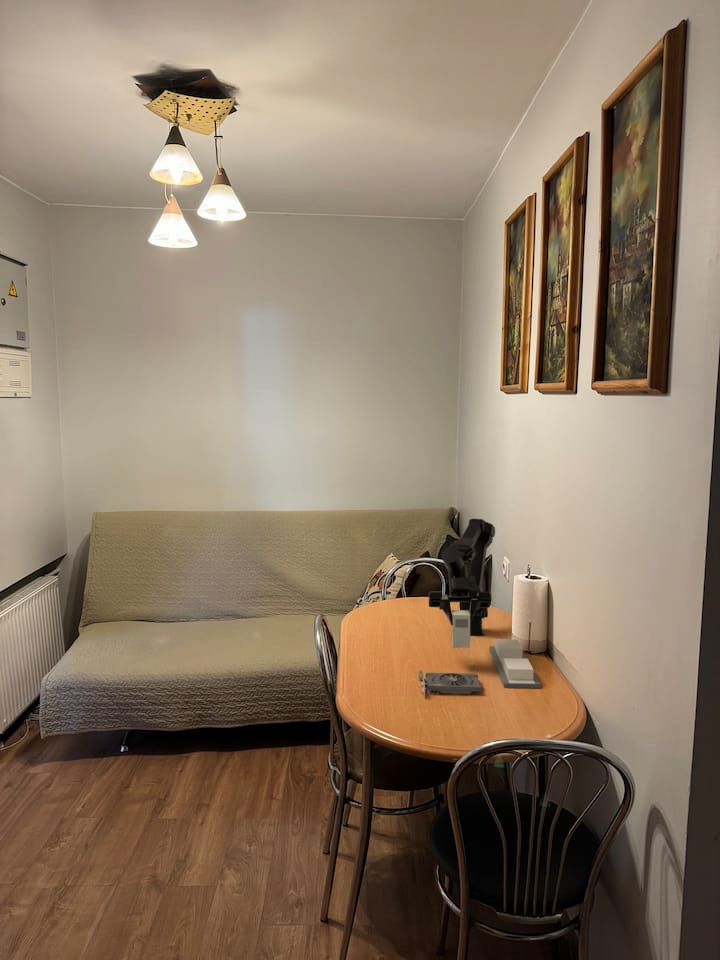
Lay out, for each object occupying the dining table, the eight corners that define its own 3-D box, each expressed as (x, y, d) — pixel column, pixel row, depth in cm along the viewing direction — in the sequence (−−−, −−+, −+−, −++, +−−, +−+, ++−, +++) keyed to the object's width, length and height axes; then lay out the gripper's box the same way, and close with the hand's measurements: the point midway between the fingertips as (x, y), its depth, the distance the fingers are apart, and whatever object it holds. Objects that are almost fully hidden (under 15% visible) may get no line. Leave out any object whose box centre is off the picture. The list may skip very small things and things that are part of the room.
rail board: (489, 649, 203) (489, 636, 202) (520, 650, 202) (520, 637, 202) (504, 687, 175) (504, 672, 174) (540, 688, 174) (540, 673, 174)
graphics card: (420, 688, 168) (418, 668, 180) (420, 701, 169) (418, 681, 180) (484, 689, 167) (478, 670, 179) (483, 703, 168) (477, 682, 180)
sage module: (451, 641, 191) (451, 610, 190) (468, 642, 191) (468, 610, 190) (452, 647, 186) (453, 615, 185) (469, 648, 186) (470, 615, 185)
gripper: (429, 565, 191) (430, 612, 181) (491, 565, 189) (496, 613, 180) (427, 583, 199) (429, 629, 190) (487, 584, 198) (491, 630, 188)
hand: (461, 625), depth 187 cm, fingers closed on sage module, 5 cm apart
